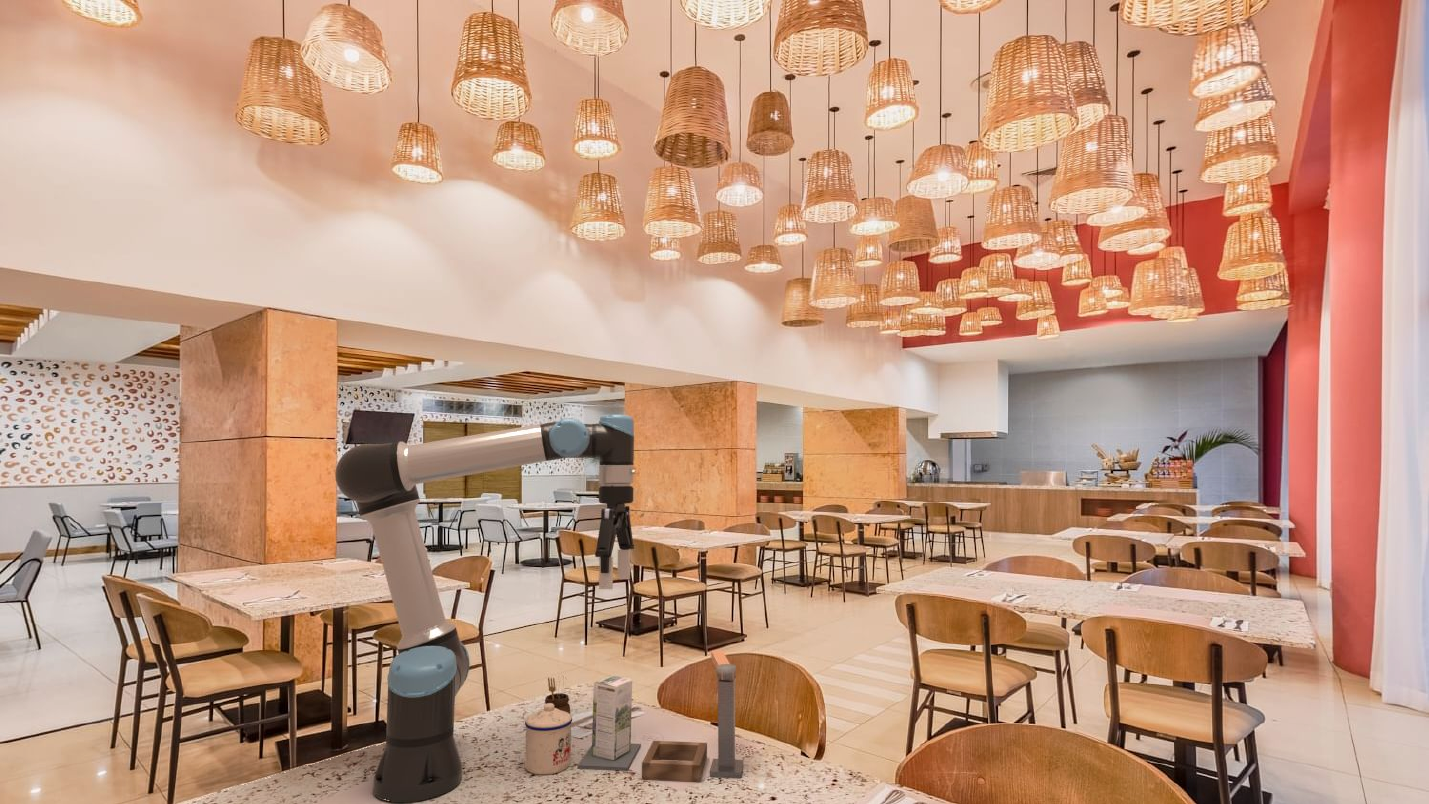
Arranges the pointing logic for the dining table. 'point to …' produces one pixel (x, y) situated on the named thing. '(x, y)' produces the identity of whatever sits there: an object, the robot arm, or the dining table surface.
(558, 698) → the utensil holder
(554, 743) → the teacup with lid
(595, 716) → the syrup box
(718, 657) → the bar
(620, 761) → the slate mat
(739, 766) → the clip post
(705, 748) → the socket collar
